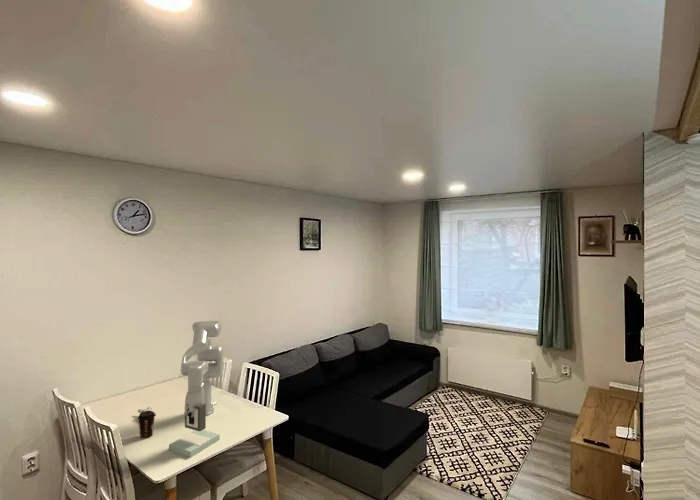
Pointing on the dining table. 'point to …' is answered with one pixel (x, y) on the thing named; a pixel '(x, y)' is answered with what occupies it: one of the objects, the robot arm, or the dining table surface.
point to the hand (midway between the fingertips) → (195, 421)
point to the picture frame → (197, 418)
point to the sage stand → (194, 442)
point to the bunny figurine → (146, 410)
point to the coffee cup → (146, 424)
